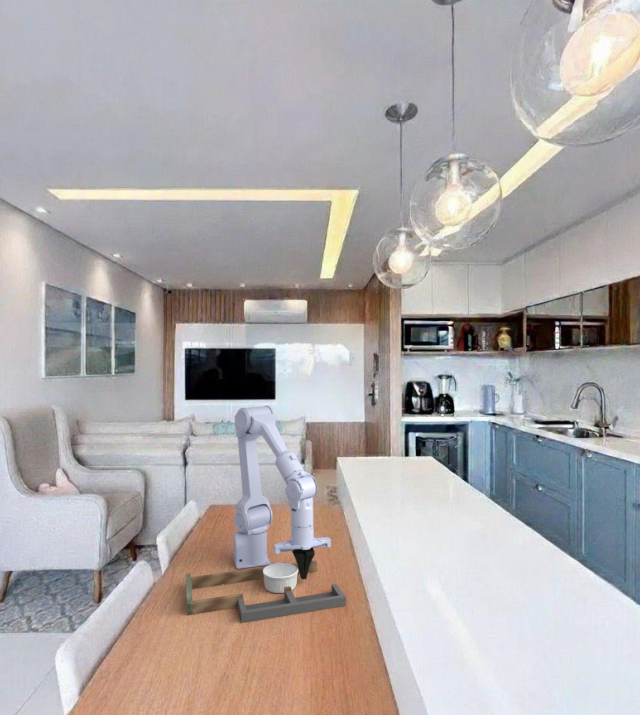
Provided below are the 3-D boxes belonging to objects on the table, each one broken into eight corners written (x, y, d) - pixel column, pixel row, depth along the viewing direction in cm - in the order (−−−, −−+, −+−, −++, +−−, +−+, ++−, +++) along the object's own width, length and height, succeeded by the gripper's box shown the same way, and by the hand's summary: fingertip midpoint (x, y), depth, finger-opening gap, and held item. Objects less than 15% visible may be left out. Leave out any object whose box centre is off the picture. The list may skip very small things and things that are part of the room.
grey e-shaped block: (241, 622, 108) (241, 613, 108) (237, 607, 115) (237, 598, 115) (345, 605, 114) (345, 596, 114) (336, 591, 121) (336, 583, 121)
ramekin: (305, 585, 125) (305, 568, 125) (280, 598, 118) (280, 580, 119) (281, 576, 131) (280, 559, 131) (255, 588, 124) (255, 570, 124)
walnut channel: (187, 615, 111) (186, 599, 112) (186, 587, 125) (185, 573, 125) (331, 592, 121) (331, 578, 121) (315, 569, 135) (315, 556, 135)
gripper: (277, 532, 121) (278, 588, 121) (334, 525, 125) (335, 580, 125) (271, 523, 127) (273, 576, 127) (325, 517, 132) (327, 569, 131)
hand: (303, 577), depth 126 cm, fingers closed
